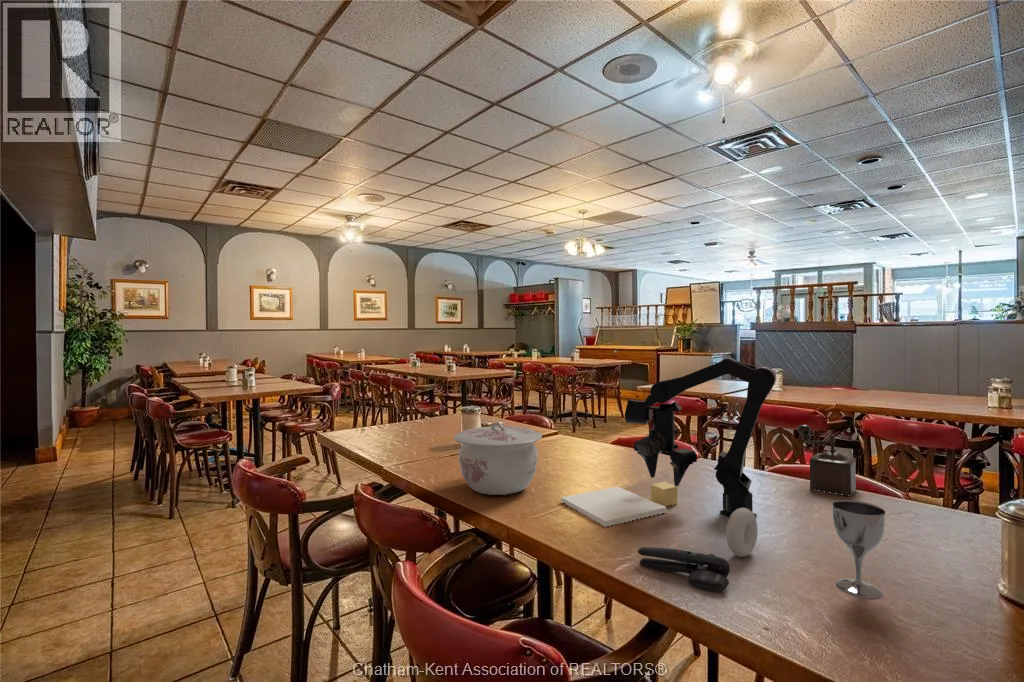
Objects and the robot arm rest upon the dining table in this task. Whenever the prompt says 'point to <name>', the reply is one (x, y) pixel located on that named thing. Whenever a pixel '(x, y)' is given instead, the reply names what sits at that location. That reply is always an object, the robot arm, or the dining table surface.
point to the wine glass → (859, 540)
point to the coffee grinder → (830, 468)
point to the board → (613, 506)
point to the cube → (664, 494)
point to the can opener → (690, 566)
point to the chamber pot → (498, 458)
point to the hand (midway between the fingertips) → (664, 481)
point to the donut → (742, 532)
